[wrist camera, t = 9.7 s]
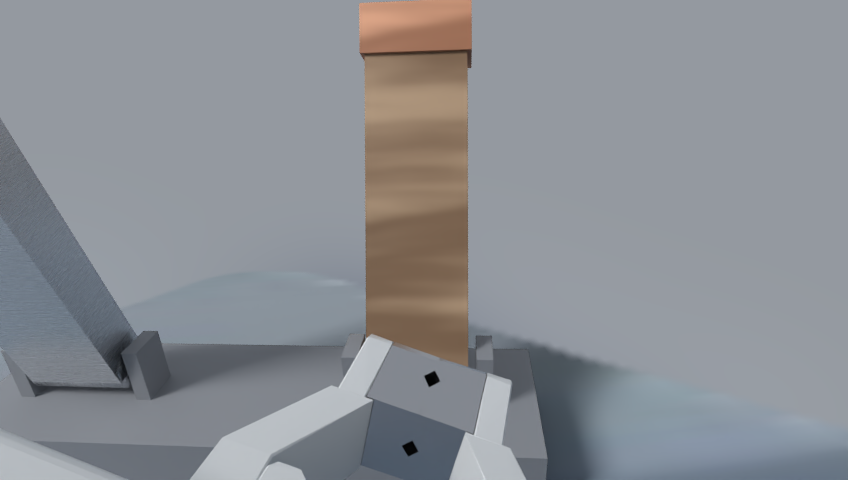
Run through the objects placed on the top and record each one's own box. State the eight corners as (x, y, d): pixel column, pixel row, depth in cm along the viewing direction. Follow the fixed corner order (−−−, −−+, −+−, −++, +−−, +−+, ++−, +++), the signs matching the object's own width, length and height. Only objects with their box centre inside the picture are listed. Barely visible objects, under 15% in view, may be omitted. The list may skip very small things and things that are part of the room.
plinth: (543, 505, 24) (551, 406, 21) (-45, 481, 26) (-98, 389, 24) (525, 389, 31) (530, 305, 29) (66, 379, 34) (34, 300, 31)
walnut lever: (472, 404, 24) (471, -2, 24) (361, 401, 25) (359, 3, 25) (471, 386, 27) (471, 22, 27) (372, 384, 28) (370, 26, 27)
